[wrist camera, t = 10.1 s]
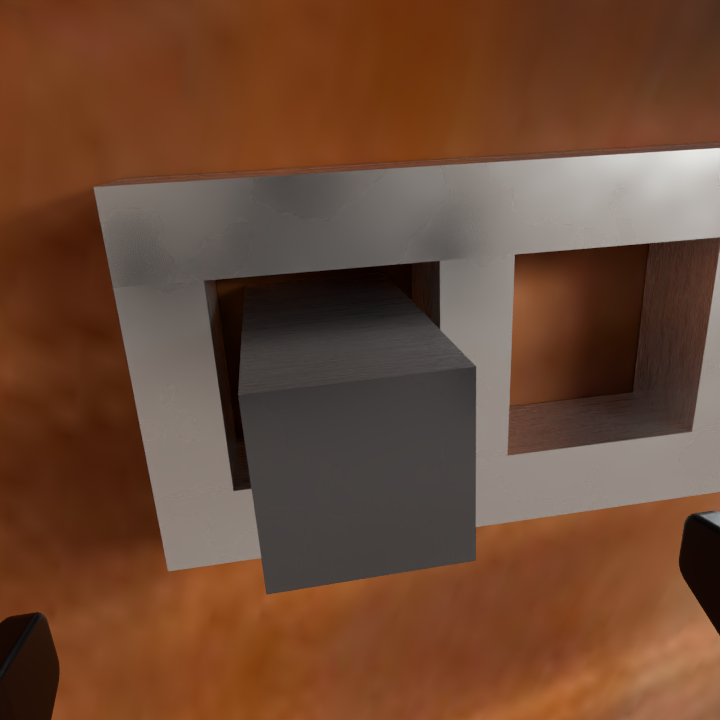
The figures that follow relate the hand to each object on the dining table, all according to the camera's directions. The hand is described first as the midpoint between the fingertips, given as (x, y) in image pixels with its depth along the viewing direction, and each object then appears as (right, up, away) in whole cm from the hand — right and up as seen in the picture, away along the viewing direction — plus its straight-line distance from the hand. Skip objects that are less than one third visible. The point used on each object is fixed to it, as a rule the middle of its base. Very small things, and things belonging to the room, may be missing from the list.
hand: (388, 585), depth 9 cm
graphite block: (-2, +4, +10) cm, 11 cm away
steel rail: (+6, +4, +11) cm, 13 cm away
